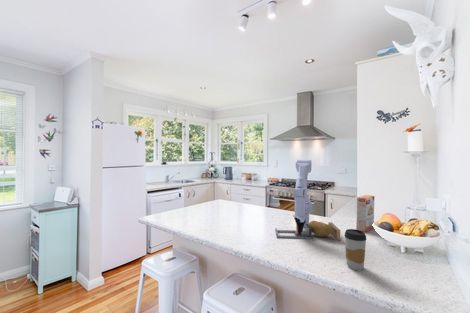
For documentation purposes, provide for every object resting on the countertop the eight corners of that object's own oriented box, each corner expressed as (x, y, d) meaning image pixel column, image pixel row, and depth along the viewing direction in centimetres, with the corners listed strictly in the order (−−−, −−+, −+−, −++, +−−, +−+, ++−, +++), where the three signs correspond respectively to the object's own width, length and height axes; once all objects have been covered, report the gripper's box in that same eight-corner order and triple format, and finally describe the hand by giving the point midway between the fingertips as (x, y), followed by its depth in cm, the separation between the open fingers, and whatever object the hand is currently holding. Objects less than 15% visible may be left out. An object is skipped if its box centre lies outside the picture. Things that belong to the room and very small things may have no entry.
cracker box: (366, 232, 138) (366, 198, 137) (356, 230, 142) (356, 197, 142) (374, 227, 147) (374, 195, 146) (364, 225, 151) (364, 194, 151)
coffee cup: (358, 262, 101) (359, 228, 100) (370, 271, 92) (371, 235, 92) (340, 262, 100) (340, 228, 100) (350, 272, 92) (350, 235, 92)
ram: (293, 231, 138) (293, 221, 138) (308, 232, 137) (308, 221, 137) (296, 237, 129) (296, 225, 129) (311, 237, 128) (311, 226, 128)
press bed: (275, 230, 142) (275, 221, 142) (331, 232, 139) (331, 222, 139) (277, 238, 128) (277, 228, 128) (340, 240, 125) (340, 230, 125)
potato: (328, 241, 124) (328, 227, 124) (305, 234, 134) (305, 221, 134) (336, 237, 130) (336, 223, 130) (314, 231, 141) (314, 218, 141)
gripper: (290, 205, 141) (290, 226, 141) (294, 210, 126) (294, 235, 127) (302, 205, 140) (302, 226, 140) (307, 211, 126) (307, 235, 126)
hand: (299, 230), depth 134 cm, fingers closed on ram, 3 cm apart
